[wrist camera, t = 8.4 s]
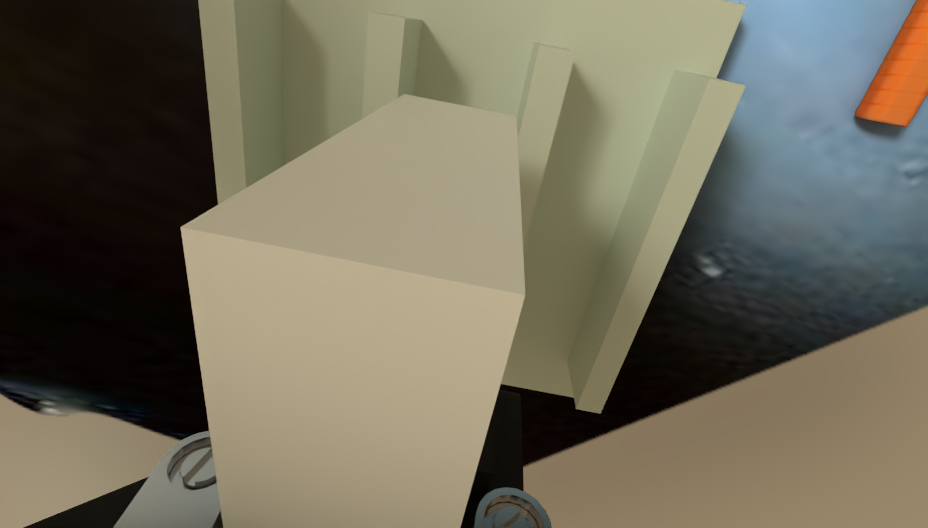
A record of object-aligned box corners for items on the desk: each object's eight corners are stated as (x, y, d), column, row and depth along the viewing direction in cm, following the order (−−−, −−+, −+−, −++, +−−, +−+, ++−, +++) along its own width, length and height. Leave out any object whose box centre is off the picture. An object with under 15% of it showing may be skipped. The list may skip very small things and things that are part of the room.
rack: (250, -89, 17) (169, -126, 13) (732, 6, 17) (802, -1, 13) (269, 325, 27) (225, 380, 23) (581, 384, 27) (594, 450, 23)
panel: (404, 94, 12) (180, 226, 4) (516, 116, 12) (525, 294, 4) (371, 416, 17) (253, 740, 9) (447, 431, 17) (392, 768, 9)
